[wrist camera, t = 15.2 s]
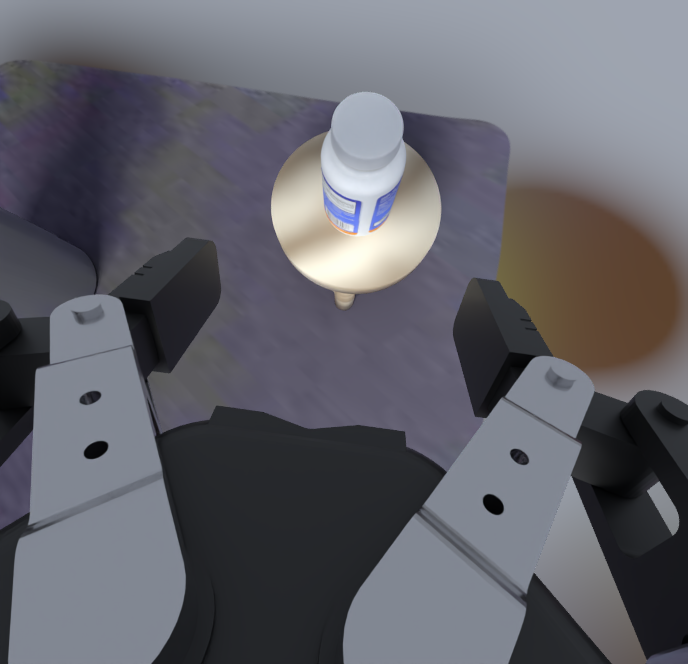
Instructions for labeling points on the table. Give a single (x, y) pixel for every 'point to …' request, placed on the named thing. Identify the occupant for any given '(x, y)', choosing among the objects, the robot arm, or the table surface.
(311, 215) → the small wooden stool
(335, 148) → the pill bottle
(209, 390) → the table surface
